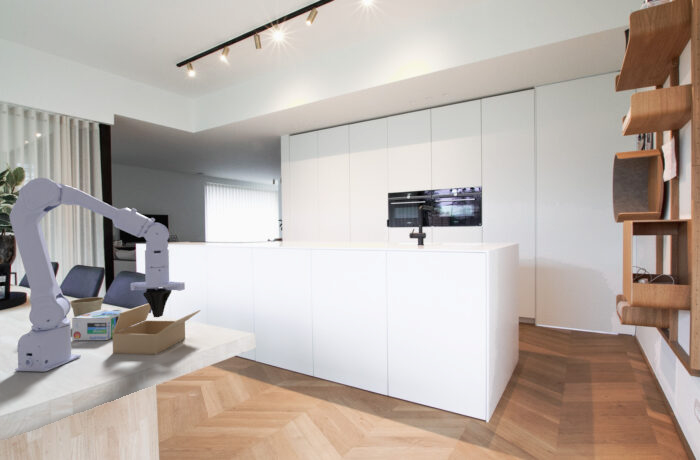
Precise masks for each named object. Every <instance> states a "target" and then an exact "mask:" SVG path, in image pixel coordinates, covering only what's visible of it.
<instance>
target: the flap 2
mask: <svg viewBox="0 0 700 460" xmlns="http://www.w3.org/2000/svg"><path fill="white" fill-rule="evenodd" d="M200 312H201V309H200V310H197V311H194V312H192V313H191V314H188V315H186V316H183V317H181V318H178V319H177V320H174V321H175V322H173V323H172V324H170V325H169V326H167V327H166V328H165V329H163V330H162V331H160V332H159V333H158V334H157V335H159V334H161V333H163V332H165V331H167V330H169V329H171V328H173V327H175V326H177V325H179V324H181V323H183V322H185V323H186V322H187V321H188V320H190V319H191V318H192V317H194V316H195V315H197V314H198V313H200Z"/></svg>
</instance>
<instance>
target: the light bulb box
mask: <svg viewBox="0 0 700 460" xmlns="http://www.w3.org/2000/svg"><path fill="white" fill-rule="evenodd" d="M127 310H128V309H101V310H97V311H94V312H91V313H87V314H84V315H81V316H77V317H74V316H73V317H72V318H71V341H108V340H110V339H113V336H112V334H114V333H113V330H114V328H115V325H116V323H117V320H118V318H119V316H120V313H121V312H124V311H127ZM128 328H129V327H128ZM125 329H126V328H125ZM122 330H124V329H122ZM120 331H121V330H120ZM117 332H119V331H117ZM115 333H116V332H115Z"/></svg>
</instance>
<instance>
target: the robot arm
mask: <svg viewBox="0 0 700 460" xmlns="http://www.w3.org/2000/svg"><path fill="white" fill-rule="evenodd" d="M60 205H65V206H79V207H82V208H84V209H87V210H89V211H91V212H93V213H95V214H98V215H101V216H102V217H105V218H108V219H110V220H112V223H113V226H114V228H117V229H119V230H120V231H123V232H125V233H128V234H130V235H132V236H135V237H137V238H142V237H143V238H144V239H145V250H144V265H145V267H144V268H145V269H144V273H145V275H144V276H145V281H141V282H140V281H139V282H138V281H135V282H131V283H130V291H144V292H143V297H144V298H145V299H146V301H147V304H148V303H149V305H150V307H151V309H150V311H151V313H152V316H153V318H160V317H162V316H164V311H165V308H166V304H167V301H168V300H169V297H170V295H171V293H172V291H178V292H179V291H184V290H185V287H186V285H185V282H181V281H180V282H179V281H178V282H177V281H170V260H169V259H170V255H169V254H170V253H169V252H170V250H169V249H168V247H169V243H168V241H169V238H170V232H169V229H168V228H167V226H166V225H164V224H162V223H160V222H155V221H156V219H155V218H154V217H151V218H149V217H147V216H145V215H143V214H141V213H139V212H138V209H136V208H134V207H132V208H131V209H130V208H128V207H123V208H116V207H114V206H112V205H110V204H108V203H106V202H104V201H102V200H100V199H98V198H96V197H94V196H93V195H90V194H88V193H86V192H84V191H83V190H80V189H78V188H75V187H73V186H70V185H66V184H63V183H60V182H58V183H57V182H55V181H54V180H52V179H50V178H47V177H37V178H32V179H31V180H29V181H28V182H27V183H26V184H25V185H23V186H22V187H21V188H19V191H18V197H17V198H16V201H15V202H14V205H13V207H12V209H11V211H10V214H9V221H10V225H11V227H12V231H13V235H14V238H15V241H16V244H17V248H18V251H19V256H20V259H21V262H22V266H23V268H24V272H25V276H26V278H27V282H28V286H29V289H30V296H29V303H30V305H31V306H30V307H31V308H30V311H29V317H28V318H29V321H30V323H31V324H32V325H31V329H30V331H29V332H27V333H25V334H23V335H22V336H20V338H19V339H18V341H17V366H18V367H16V368H15V369H14V371H15V372H16V371H17V372H48V371H50V370H53V369H56V368H57V367H60V366H62V365H64V364H67V363H69V362H71V361H74V360H76V359H79V358H80V357H81V354H72V324H71V320H69V318H68V317H67V315H68V314H69V313H70V311H71V308H72V307H71V304H70V300H69V299H68V298H67V297H65V296H64V294H63V291H62V289H61V287H60V285H59V284H58V282H57V279H56V276H55V271H54V267H53V265H52V261H51V257H50V253H49V249H48V246H47V243H46V240H45V236H44V234H43V230H42V225H41V223H40V221H42V219H43V218H44V217H45V216H46V215H48V213H49V212H51V211H52V210H53V209H56V208H57V207H59V206H60Z"/></svg>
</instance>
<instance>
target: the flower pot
mask: <svg viewBox="0 0 700 460" xmlns="http://www.w3.org/2000/svg"><path fill="white" fill-rule="evenodd" d="M104 300H105V297H102V296H93V297H92V296H91V297H84V298H82V297H81V298H78V299H73V300H71V301H70V300H69V302H70V305H71V308H72V313H73V318H74V317H77V316H81V315H84V314H87V313H91V312H94V311H97V310H102V305H103V302H104Z"/></svg>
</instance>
